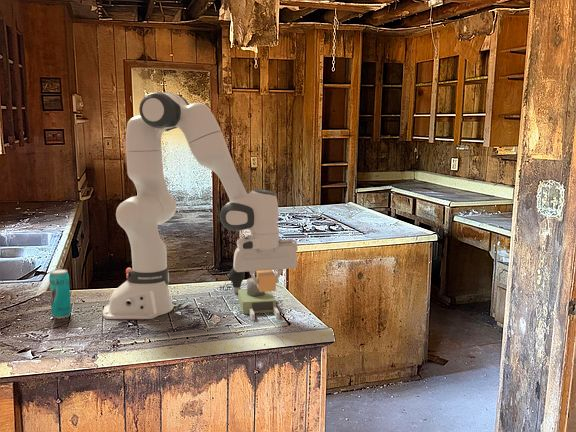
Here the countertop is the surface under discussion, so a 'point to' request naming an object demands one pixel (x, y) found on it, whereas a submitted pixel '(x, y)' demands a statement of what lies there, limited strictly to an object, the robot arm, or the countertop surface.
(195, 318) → the countertop surface
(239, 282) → the light bulb
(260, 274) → the tall orange cuboid
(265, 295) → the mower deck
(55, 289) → the beverage can
